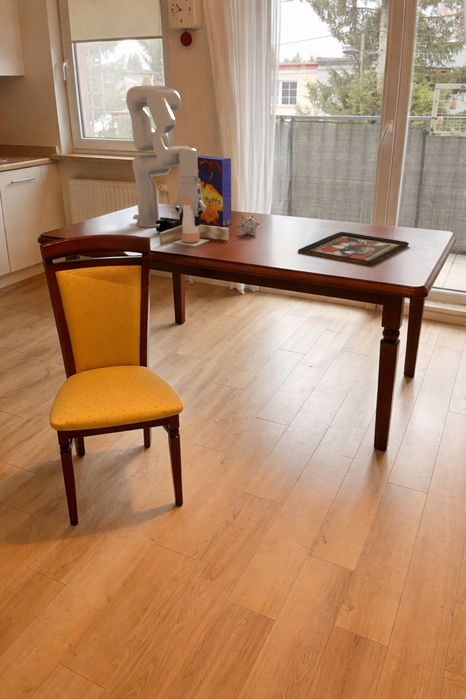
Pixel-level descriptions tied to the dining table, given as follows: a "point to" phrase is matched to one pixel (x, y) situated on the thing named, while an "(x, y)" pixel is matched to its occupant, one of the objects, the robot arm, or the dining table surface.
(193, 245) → the pad
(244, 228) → the grey spiky star ornament
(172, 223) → the end cap
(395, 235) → the dining table surface
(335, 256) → the framed icon painting
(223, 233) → the corner walls
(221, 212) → the cereal box
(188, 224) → the pepper shaker
